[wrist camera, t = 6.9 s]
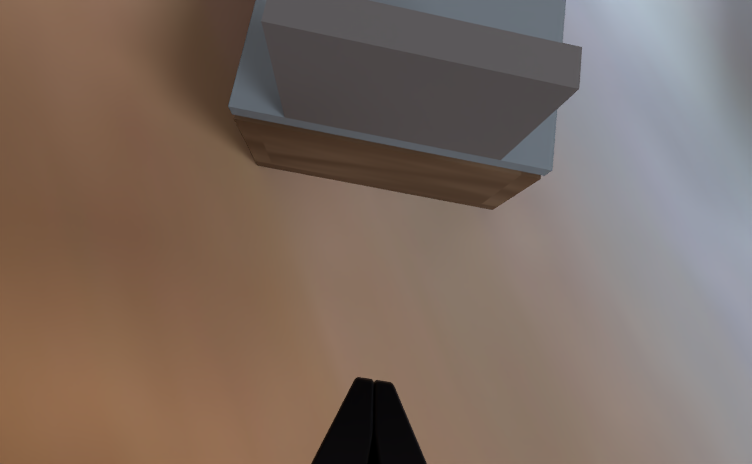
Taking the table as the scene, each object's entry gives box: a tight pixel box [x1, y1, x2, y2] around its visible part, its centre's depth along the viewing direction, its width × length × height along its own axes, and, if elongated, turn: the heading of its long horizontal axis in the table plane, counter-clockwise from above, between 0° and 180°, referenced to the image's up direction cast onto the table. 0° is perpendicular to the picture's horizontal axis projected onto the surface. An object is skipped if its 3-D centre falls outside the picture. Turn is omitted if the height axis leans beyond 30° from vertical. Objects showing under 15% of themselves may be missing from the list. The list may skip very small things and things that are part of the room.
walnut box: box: [234, 115, 541, 210], centre depth 20 cm, size 14×12×5 cm
